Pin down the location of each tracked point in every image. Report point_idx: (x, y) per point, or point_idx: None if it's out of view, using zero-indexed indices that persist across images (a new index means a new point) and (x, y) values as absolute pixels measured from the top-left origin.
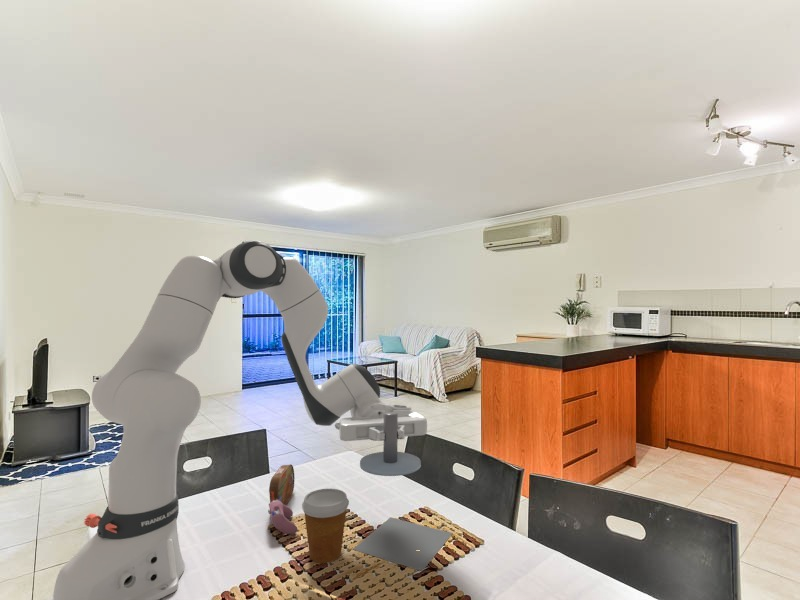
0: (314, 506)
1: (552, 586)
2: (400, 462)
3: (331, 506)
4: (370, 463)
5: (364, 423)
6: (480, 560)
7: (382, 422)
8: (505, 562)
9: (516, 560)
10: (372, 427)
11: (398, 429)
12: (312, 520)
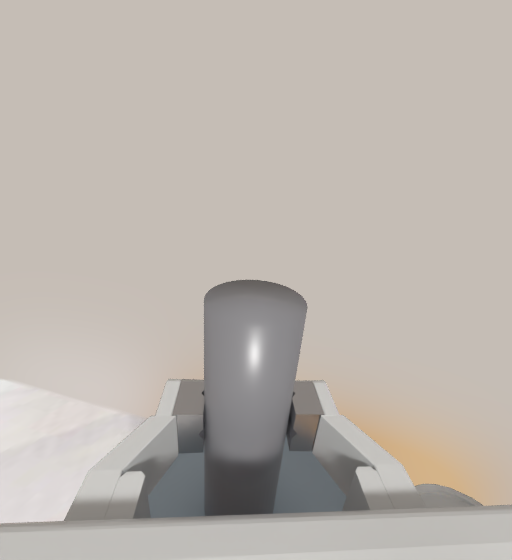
0: (468, 497)
1: (47, 405)
2: (201, 467)
3: (417, 485)
4: (334, 490)
5: (497, 526)
6: (67, 498)
7: (298, 523)
8: (33, 477)
9: (8, 477)
10: (387, 496)
11: (186, 410)
12: None
